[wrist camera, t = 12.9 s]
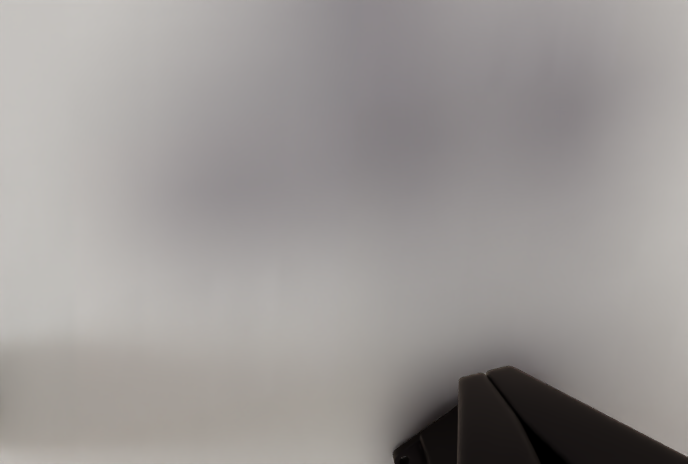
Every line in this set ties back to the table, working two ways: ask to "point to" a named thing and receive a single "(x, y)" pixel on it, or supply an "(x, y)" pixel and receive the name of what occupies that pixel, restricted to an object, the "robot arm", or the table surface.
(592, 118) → the table surface
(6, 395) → the table surface
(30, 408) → the table surface
